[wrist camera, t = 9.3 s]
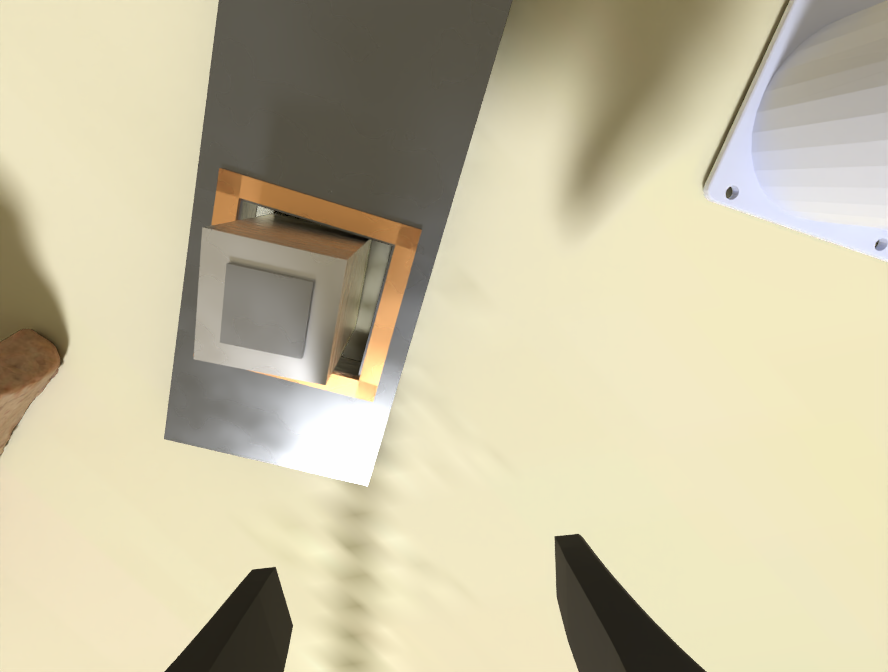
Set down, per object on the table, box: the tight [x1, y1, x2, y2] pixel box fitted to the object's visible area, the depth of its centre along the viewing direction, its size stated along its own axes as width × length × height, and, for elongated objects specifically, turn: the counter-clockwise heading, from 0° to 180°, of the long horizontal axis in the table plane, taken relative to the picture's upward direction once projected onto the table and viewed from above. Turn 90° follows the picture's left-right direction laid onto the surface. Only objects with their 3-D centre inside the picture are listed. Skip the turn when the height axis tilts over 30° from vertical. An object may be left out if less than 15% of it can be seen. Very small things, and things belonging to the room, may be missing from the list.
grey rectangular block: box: [193, 213, 371, 385], centre depth 16 cm, size 4×4×6 cm
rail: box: [164, 0, 512, 486], centre depth 16 cm, size 9×30×2 cm, turn 163°
